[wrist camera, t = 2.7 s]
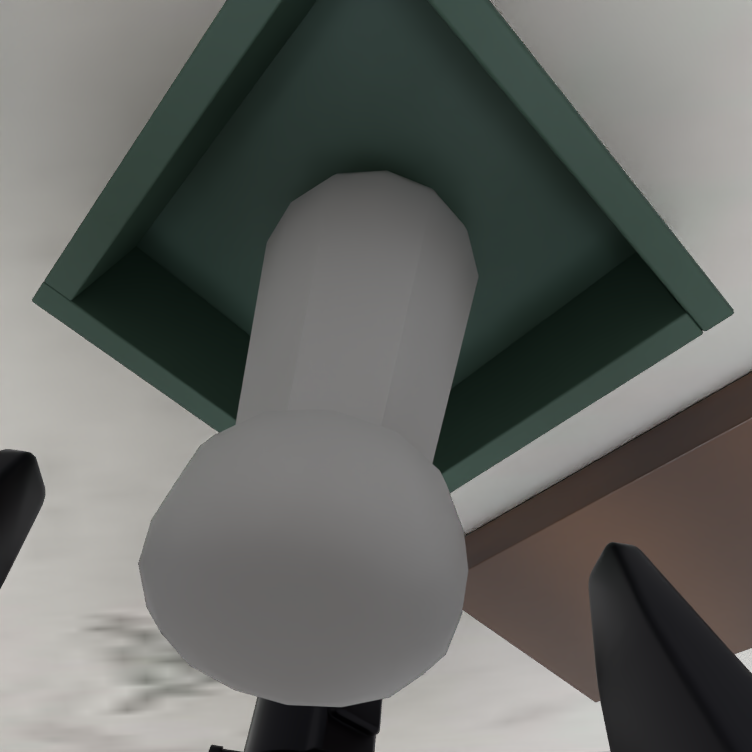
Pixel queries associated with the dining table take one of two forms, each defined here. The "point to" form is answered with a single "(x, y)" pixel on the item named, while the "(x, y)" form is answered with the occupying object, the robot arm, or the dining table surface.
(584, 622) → the serving board
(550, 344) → the green square tray
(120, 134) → the dining table surface
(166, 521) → the salt shaker
